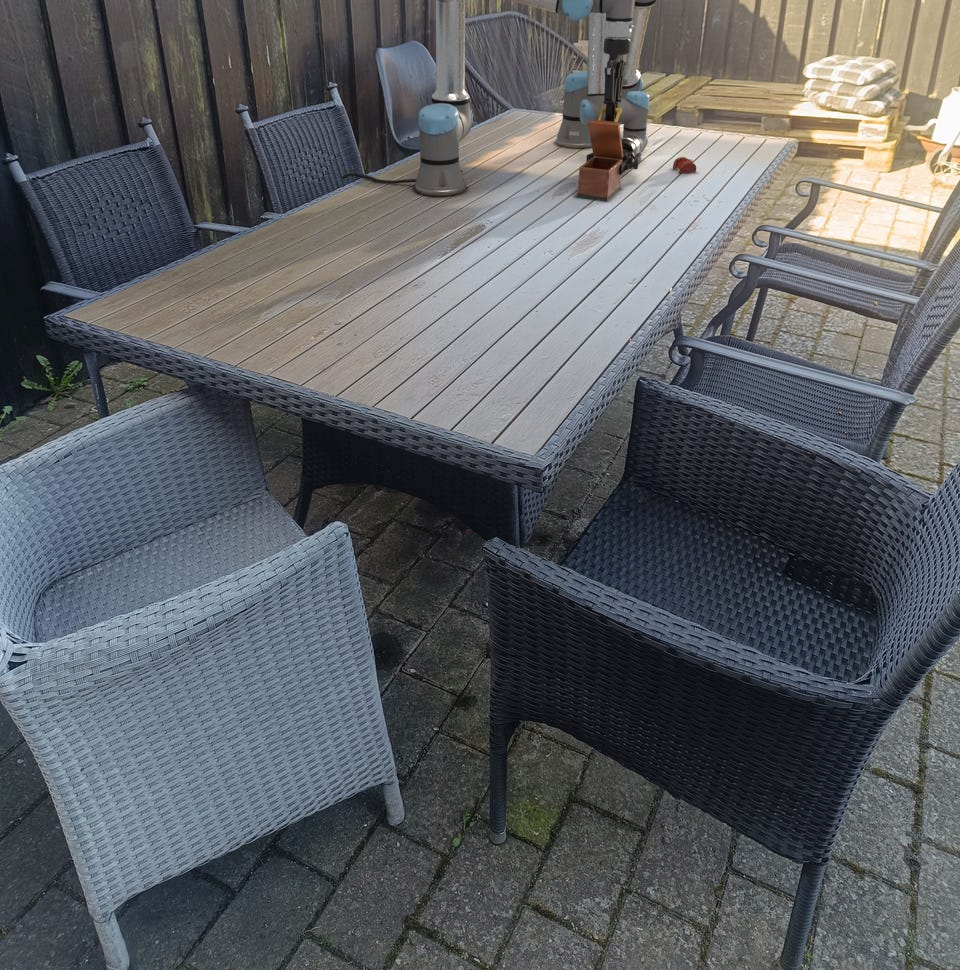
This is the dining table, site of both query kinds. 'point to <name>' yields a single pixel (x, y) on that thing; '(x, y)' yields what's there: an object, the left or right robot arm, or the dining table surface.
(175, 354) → the dining table surface
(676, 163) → the dental model
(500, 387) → the dining table surface
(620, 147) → the lid
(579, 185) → the chest
